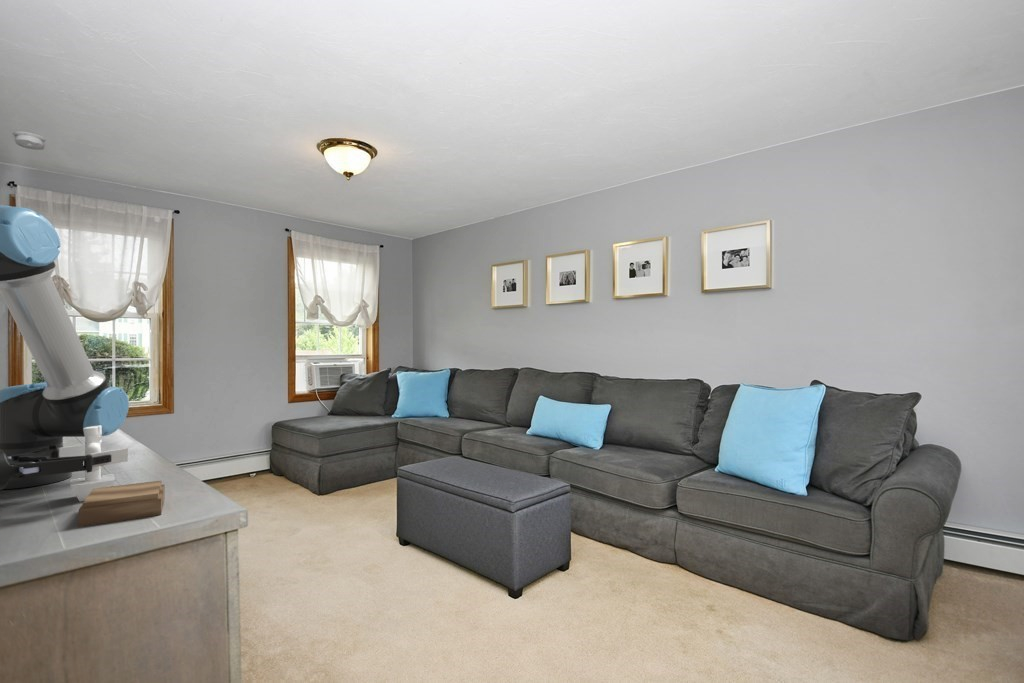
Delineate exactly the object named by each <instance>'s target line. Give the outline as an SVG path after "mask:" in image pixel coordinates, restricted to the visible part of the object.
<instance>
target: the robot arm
mask: <svg viewBox="0 0 1024 683" xmlns="http://www.w3.org/2000/svg"><path fill="white" fill-rule="evenodd" d="M60 240H61V239H60V236H59V234H58V232H57V230H56V228H55V227H54V225H53V224H52V223H51V222H50V221H49V220H48V219H47V218H46V217H45V216H43V215H42V214H41V213H39V212H36V211H35V210H33V209H30V208H26V207H21V206H11V205H4V204H0V295H1V297H2V299H3V301H4V303H5V305H6V307H7V309H8V310H9V312H10V314H11V317H12V318H13V320H14V322H15V324H16V327H17V328H18V330H19V332H20V334H21V336H22V338H23V340H24V343H25V344H26V346H27V348H28V351H30V354H31V355H32V358H33V359H34V362H35V363H36V366H37V368H38V369H39V372H40V374H41V375H42V378H43V380H44V381H45V382H37V383H30V384H29V383H27V384H19V385H13V386H6V387H2V388H0V491H1V490H10V489H11V490H12V489H13V490H14V489H22V488H30V487H36V486H37V487H38V486H42V485H43V486H44V485H47V484H54V483H58V482H61V481H64V480H66V479H69V478H71V477H72V476H73V473H76V472H85V471H86V470H87V473H88V472H92V468H93V467H98V466H101V467H103V466H108V465H109V466H110V465H115V464H121V463H125V462H128V460H129V458H128V454H129V451H128V450H129V449H128V447H125V448H120V449H111V450H105V451H101V452H98V453H92V454H89V455H86V456H85V443H84V444H77V445H76V444H75V445H69V446H64V445H63V444H64V441H63V440H64V439H63V438H64V437H65V438H68V437H69V438H73V437H74V438H77V437H80V438H82V437H83V438H85V436H84V431H83V428H86V427H91V426H98V425H101V426H102V433H101V434H102V437H106V436H109V435H111V434H114V433H115V432H116V431H118V430H119V429H120V428H121V426H123V425H124V423H125V421H126V419H127V415H128V412H129V409H130V401H129V397H128V394H127V392H126V391H125V390H124V389H123V388H120V387H117V386H110V384H109V382H108V379H107V377H106V375H105V374H104V373H103V372H100V371H97V370H94V368H93V366H92V364H91V362H90V359H89V357H88V355H87V353H86V351H85V348H84V346H83V344H82V342H81V339H80V338H79V336H78V333H77V331H76V328H75V326H74V325H73V322H72V320H71V318H70V316H69V313H68V311H67V308H66V306H65V304H64V302H63V300H62V298H61V295H60V294H59V291H58V289H57V286H56V285H55V283H54V280H53V278H52V274H53V273H54V271H55V270H56V268H57V265H56V262H55V261H56V260H57V258H58V257H59V255H60V252H61V251H60V250H59V248H61V241H60Z"/></svg>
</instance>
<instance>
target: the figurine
mask: <svg viewBox="0 0 1024 683" xmlns="http://www.w3.org/2000/svg"><path fill="white" fill-rule="evenodd" d="M83 431H84V436H85V437H84V444H85V456H86V455H89V454H92V453H98V452H102V449H101V448H102V447H101V446H102V445H101V444H102V443H103V440H102V437H103V436H102V434H101V433H102V426H101V425H98V426H91V427H86V428H83ZM101 468H102V466H98V467H93V468H92V472H88V473H87V470H86V471H84V477H81V478H79V477H77V478H72V479H70V480H69V481H70V483H69V484H70V489H71V490H72V491H73V493H74V495H75V497H76V498H77V499H78V501H79V502H84V501H85V499H86V498H87V497H88V495H89V494H90V493H91V491H92V490H93V489H94V488H103V487H111V486H114V484H115V482H116V477H115V475H114V473H108V474H102V475H101V472H102V471H101Z"/></svg>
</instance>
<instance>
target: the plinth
mask: <svg viewBox="0 0 1024 683" xmlns="http://www.w3.org/2000/svg"><path fill="white" fill-rule="evenodd" d="M165 493H166V492H165V484H162V480H156V481H155V480H153V481H145V482H137V483H128V484H120V485H113V486H111V487H103V488H94V489H93V490H92V491H91V493H90V494H89V495H88V497H87V498H86V499H85V501H82V504H81V506H80V507H79V508H78V528H80V527H88V526H95V525H101V524H108V523H114V522H120V521H121V522H122V521H128V520H135V519H140V518H148V517H155V516H161V515H162V512H163V507H164V505H165V504H164V503H165Z"/></svg>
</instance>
